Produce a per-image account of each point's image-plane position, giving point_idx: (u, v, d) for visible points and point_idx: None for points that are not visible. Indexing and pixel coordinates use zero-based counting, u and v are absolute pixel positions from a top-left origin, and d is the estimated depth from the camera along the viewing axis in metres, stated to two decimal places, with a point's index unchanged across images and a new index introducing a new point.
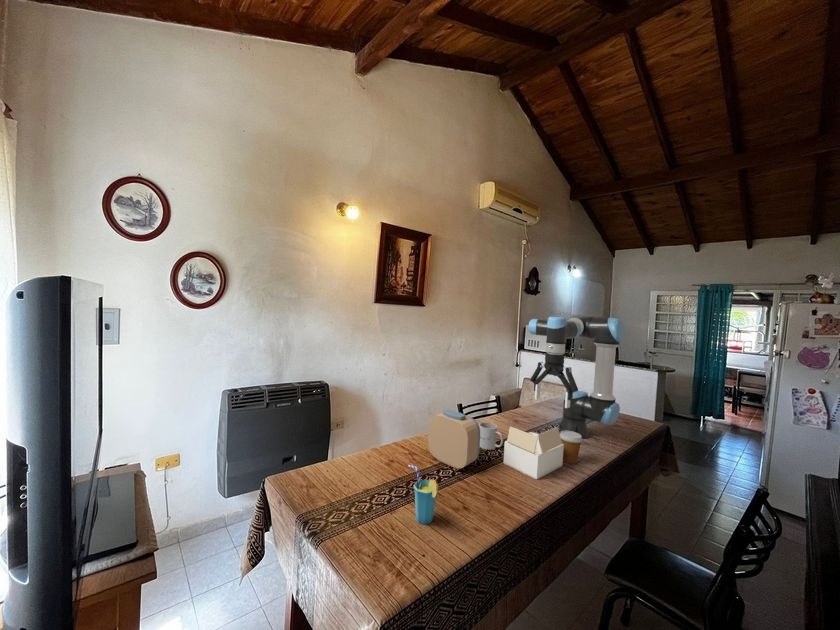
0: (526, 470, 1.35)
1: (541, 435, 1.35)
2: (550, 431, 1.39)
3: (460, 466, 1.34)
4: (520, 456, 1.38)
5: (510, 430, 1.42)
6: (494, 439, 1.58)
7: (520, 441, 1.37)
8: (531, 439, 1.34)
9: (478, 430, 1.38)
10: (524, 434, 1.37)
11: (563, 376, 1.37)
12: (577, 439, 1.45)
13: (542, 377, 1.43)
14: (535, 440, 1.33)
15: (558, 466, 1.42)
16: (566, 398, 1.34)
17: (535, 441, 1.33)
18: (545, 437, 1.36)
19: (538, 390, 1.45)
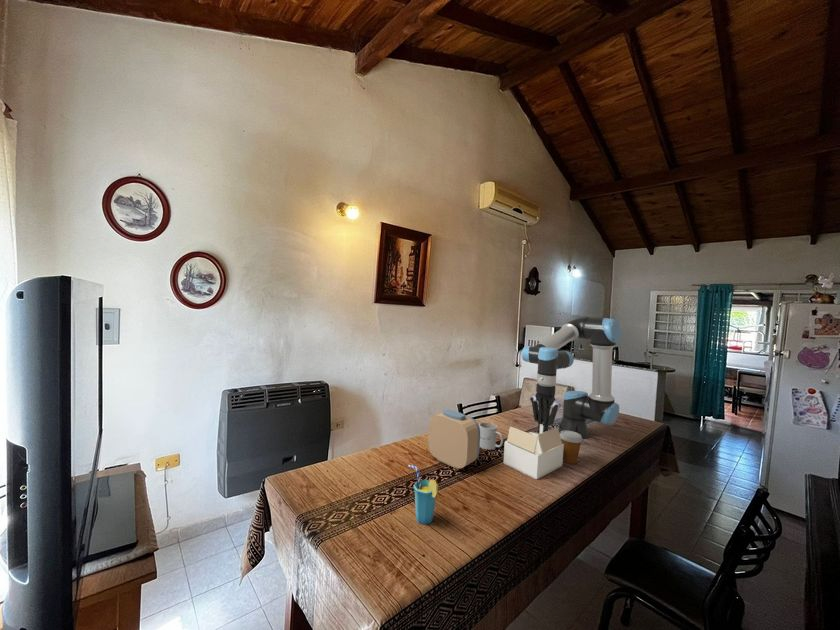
0: (526, 470, 1.35)
1: (541, 435, 1.35)
2: (550, 431, 1.39)
3: (460, 466, 1.34)
4: (520, 456, 1.38)
5: (510, 430, 1.42)
6: (494, 439, 1.58)
7: (520, 441, 1.37)
8: (531, 439, 1.34)
9: (478, 430, 1.38)
10: (524, 434, 1.37)
11: (548, 409, 1.39)
12: (577, 439, 1.45)
13: (541, 412, 1.40)
14: (535, 440, 1.33)
15: (558, 466, 1.42)
16: (542, 431, 1.39)
17: (535, 441, 1.33)
18: (545, 437, 1.36)
19: None
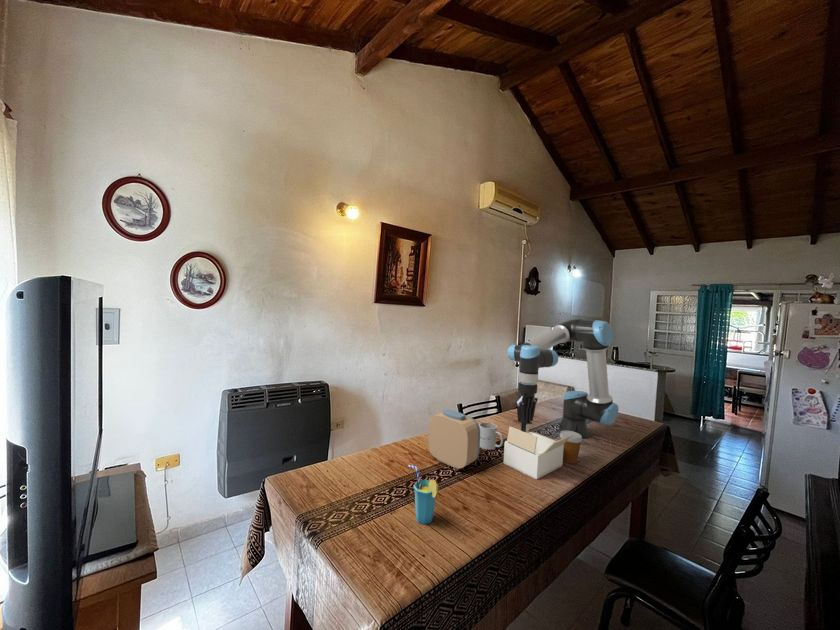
0: (526, 470, 1.35)
1: (555, 443, 1.30)
2: (564, 439, 1.35)
3: (460, 466, 1.34)
4: (520, 456, 1.38)
5: (510, 430, 1.42)
6: (494, 439, 1.58)
7: (520, 441, 1.37)
8: (531, 439, 1.34)
9: (478, 430, 1.38)
10: (523, 434, 1.37)
11: (524, 408, 1.37)
12: (577, 439, 1.45)
13: None
14: (535, 440, 1.33)
15: (558, 466, 1.42)
16: None
17: (535, 441, 1.32)
18: (556, 443, 1.32)
19: None
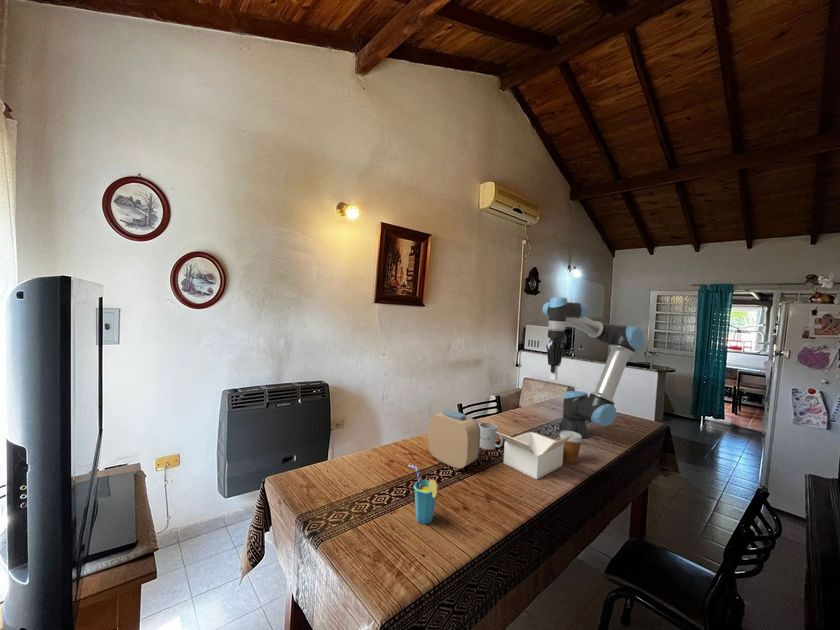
0: (526, 470, 1.35)
1: (555, 443, 1.30)
2: (564, 439, 1.35)
3: (460, 466, 1.34)
4: (520, 456, 1.38)
5: (503, 436, 1.39)
6: (494, 439, 1.58)
7: (517, 444, 1.36)
8: (524, 445, 1.31)
9: (478, 430, 1.38)
10: (516, 441, 1.34)
11: (553, 351, 1.57)
12: (577, 439, 1.45)
13: None
14: (528, 447, 1.30)
15: (558, 466, 1.42)
16: (551, 370, 1.59)
17: (529, 447, 1.30)
18: (556, 443, 1.32)
19: None
